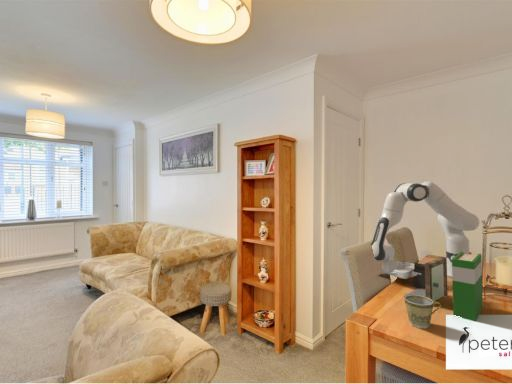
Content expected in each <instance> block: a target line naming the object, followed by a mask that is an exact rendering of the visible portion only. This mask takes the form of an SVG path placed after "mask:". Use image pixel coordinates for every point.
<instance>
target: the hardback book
mask: <svg viewBox="0 0 512 384" xmlns="http://www.w3.org/2000/svg"><path fill="white" fill-rule="evenodd" d="M482 259H483V257H482V253H478V254H472V253H471V254H464V253H463V252H460V253H459V254H458V255H456V256H455V257H454V258H453V259H452V277H451V278H452V307H453V308H452V310H453V311H452V312H453V315H456V316H460V317H462V318H461V319H464V320H468V321H472V322H476V321H477V320H478V318H479V316H480V314H481V312H482V310H483V308H484V306H483V302H484V301H483V299H484V298H483V266H482V265H483V262H482ZM456 316H455V317H456ZM460 317H459V318H460Z"/></svg>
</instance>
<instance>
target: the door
mask: <svg viewBox="0 0 512 384" xmlns="http://www.w3.org/2000/svg"><path fill="white" fill-rule="evenodd" d="M443 297H445V296H444V275H443V263H442V264H440V265H437V266H435V267H433V268H432V300H433V302H435V301H436V302H437V300H439V299H441V298H443Z"/></svg>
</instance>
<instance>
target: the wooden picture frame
mask: <svg viewBox="0 0 512 384" xmlns="http://www.w3.org/2000/svg"><path fill="white" fill-rule="evenodd" d="M442 263H443V275H444V296H443V297H448V276H447V257H446V256H441V257H438V258H436V259H433V260H430V261H428V262H426V263H424V264H425V289H424V290H425V292H426V297H427V298H429V299H431V300H432V268H433V267H435V266H437V265H440V264H442Z"/></svg>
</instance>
